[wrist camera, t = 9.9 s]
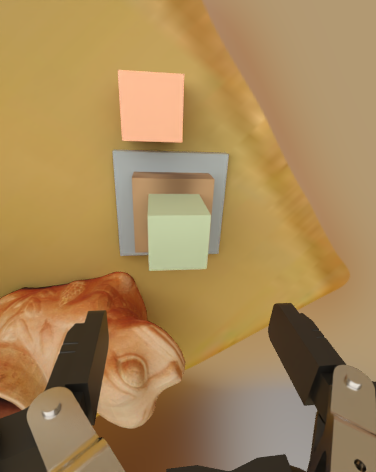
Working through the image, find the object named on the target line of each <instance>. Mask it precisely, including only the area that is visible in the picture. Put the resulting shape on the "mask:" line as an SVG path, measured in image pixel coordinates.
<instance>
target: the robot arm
mask: <svg viewBox="0 0 376 472" xmlns="http://www.w3.org/2000/svg"><path fill="white" fill-rule="evenodd" d="M268 333H269V338H270V341H271V342H272V345H273V346H274V348H275V350H276V352H277V354H278V356H279V358H280V360H281V362H282V364H283V366H284V368H285V369H286V371H287V373H288V375H289V377H290V379H291V380H292V383H293V385H294V387H295V389H296V391H297V393H298V394H299V396H300V398H301V400H302V402H303V404H304V405H315V406H316V408H317V413H316V418H315V425H314V433H313V440H312V448H311V455H310V461H309V465H308V469H307V472H376V382H373V381H371V380H370V379H369V377H368V376H366V375H365V374H364V373H363V372H362V371H360V370H358V369H357V368H354V367H352V366H348V365H346V364H345V362H344V361H343V360H342V359H341V357H340V356H339V355H338V353H337V352H336V351H335V349H333V347H332V346H331V344H330V343H329V342H328V340H327V339H326V338H324V335H323V334H322V333H321V331H319V329H318V328H317V326H316V325H315V324H314V322H313V321H312V320H311V319H309V318H308V317H307V316H305V315H304V314H303V313H299V312H298V311H297V310H296V308H295V307H294V306H293V304H291V303H278V304H274V306H273V310H272V314H271V318H270V323H269V327H268ZM108 346H109V332H108V322H107V312H106V310H97V311H88V313H87V316H86V319H85V323H75V324H74V325H73V327H72V328H71V329H70V330H69V331H68V332H67V334H66V336H65V339H64V342H63V345H62V347H61V349H60V354H59V355H58V357H57V360H56V362H55V365H54V368H53V370H52V373H51V376H50V378H49V381H48V383H47V386H46V388H45V390H44V392H42V393H41V394H40V395H38V396H37V397H36V398H35V399H34V400H33V402H32V403H31V405H30V406H29V407H27V408H25V409H23V410H21V411H19V412H16V413H14V414H11V415H8V416H6V417H3V418H0V472H125V471H124V469H123V468H122V466H121V465H120V463H119V461H118V460H117V458H116V456H115V455H114V453H113V451H112V450H111V448H110V446H109V445H108V443H107V442H106V441H105V440H104V438H102V437H101V438H99V437H98V435H97V434H96V432H95V430H94V429H93V427H92V425H94V424H95V419H96V413H97V408H98V402H99V397H100V391H101V386H102V380H103V375H104V369H105V364H106V359H107V353H108ZM166 472H306V471H304V470H302V469H300V468H297V467H294V466H291V465H289V463H288V460H287V457H286V455H285V454H284V455H276V456H268V457H260V458H256V459H254V460H252V461H250V462H248V463H246V464H244V465H242V466H240V467H238V468H237V469H234V470H232V471H224V470H219V469H214V468H208V467H203V466H198V465H195V466H187V467H179V468H171V469H167V470H166Z"/></svg>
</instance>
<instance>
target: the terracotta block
mask: <svg viewBox="0 0 376 472" xmlns="http://www.w3.org/2000/svg"><path fill="white" fill-rule="evenodd" d="M118 82H119V98H120V114H121V130H122V141H150V142H182V134H183V98H184V74H175V73H159V72H143V71H126V70H118Z"/></svg>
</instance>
